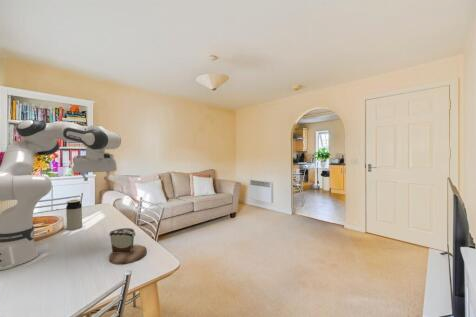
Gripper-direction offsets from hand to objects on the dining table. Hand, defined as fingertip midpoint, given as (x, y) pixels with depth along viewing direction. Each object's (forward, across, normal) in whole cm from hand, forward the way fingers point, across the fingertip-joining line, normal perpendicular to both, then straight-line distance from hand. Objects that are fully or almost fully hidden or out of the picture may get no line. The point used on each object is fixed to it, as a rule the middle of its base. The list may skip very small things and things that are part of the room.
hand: (96, 180), depth 120 cm
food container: (+33, +16, -23) cm, 43 cm away
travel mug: (+34, -18, +30) cm, 49 cm away
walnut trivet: (+34, +17, -26) cm, 46 cm away
